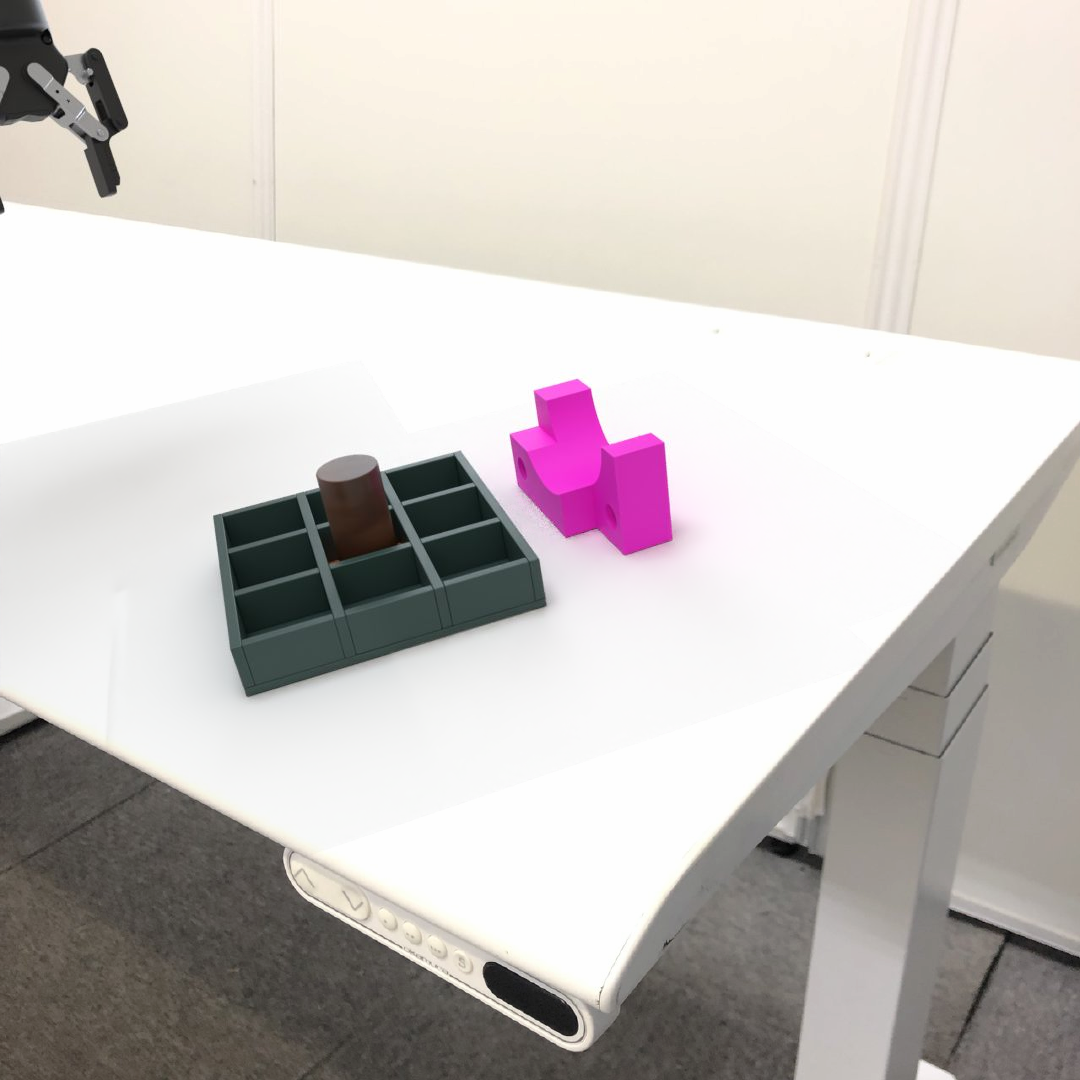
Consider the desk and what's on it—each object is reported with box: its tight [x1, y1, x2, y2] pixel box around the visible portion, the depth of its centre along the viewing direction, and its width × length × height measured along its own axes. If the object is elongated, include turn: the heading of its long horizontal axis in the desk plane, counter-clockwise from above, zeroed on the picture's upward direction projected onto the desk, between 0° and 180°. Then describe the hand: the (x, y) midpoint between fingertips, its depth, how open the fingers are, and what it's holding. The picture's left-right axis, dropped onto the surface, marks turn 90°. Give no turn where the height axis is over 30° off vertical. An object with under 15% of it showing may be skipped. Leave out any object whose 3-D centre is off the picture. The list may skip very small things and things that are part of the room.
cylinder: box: [315, 453, 397, 561], centre depth 71 cm, size 4×4×8 cm
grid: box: [212, 450, 547, 697], centre depth 73 cm, size 20×20×4 cm
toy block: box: [509, 378, 674, 556], centre depth 76 cm, size 15×6×8 cm, turn 21°
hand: (55, 204), depth 79 cm, fingers open, 8 cm apart
